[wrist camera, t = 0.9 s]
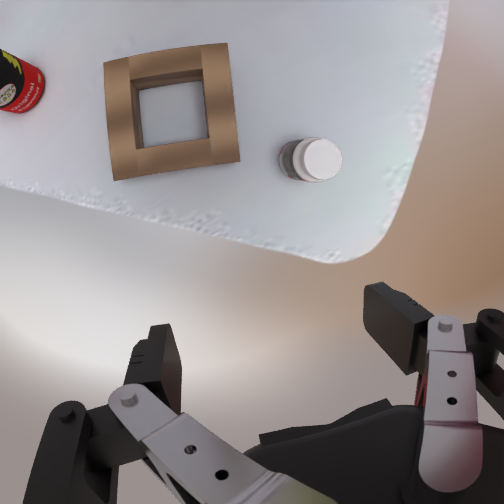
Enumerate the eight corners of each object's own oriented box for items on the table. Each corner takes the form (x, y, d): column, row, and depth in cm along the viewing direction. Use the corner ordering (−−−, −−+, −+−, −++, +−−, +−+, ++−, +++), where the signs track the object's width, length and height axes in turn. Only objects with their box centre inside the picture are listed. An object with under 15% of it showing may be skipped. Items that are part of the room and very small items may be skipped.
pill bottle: (286, 184, 38) (309, 191, 30) (272, 147, 36) (292, 144, 28) (321, 171, 38) (351, 175, 30) (308, 135, 36) (336, 130, 28)
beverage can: (5, 115, 29) (-50, 107, 17) (14, 70, 27) (-36, 49, 16) (42, 112, 30) (-11, 100, 19) (51, 66, 28) (5, 38, 17)
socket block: (114, 74, 31) (103, 62, 26) (223, 57, 32) (227, 42, 27) (124, 178, 34) (113, 181, 30) (234, 161, 36) (240, 161, 31)
